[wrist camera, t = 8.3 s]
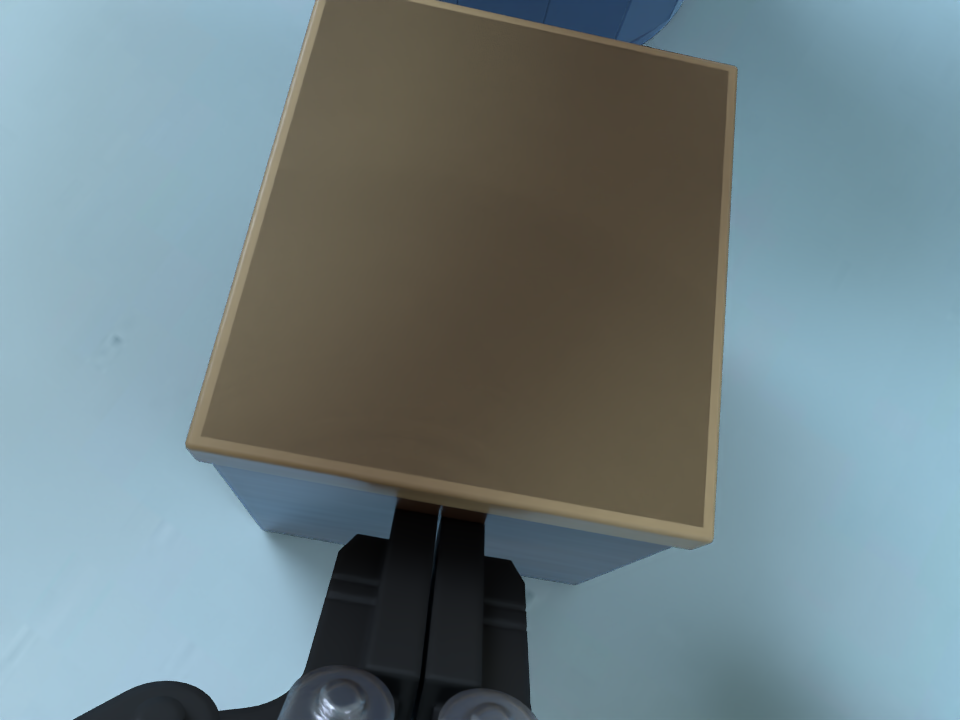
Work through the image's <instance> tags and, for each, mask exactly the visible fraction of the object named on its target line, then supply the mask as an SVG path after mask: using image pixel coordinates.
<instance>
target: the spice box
mask: <svg viewBox="0 0 960 720" xmlns="http://www.w3.org/2000/svg"><path fill="white" fill-rule="evenodd" d="M737 71H738V69H737V67H735V66H733V65H728V64H724V63H719V62H715V61H710V60H706V59H701V58H697V57H692V56H688V55H683V54H678V53H674V52H669V51H665V50H660V49H656V48H651V47H647V46H642V45H638V44H633V43H628V42H624V41H619V40H615V39H610V38H606V37H601V36H597V35H592V34H587V33H583V32H578V31H574V30H569V29H565V28H560V27H556V26H551V25H547V24H542V23H537V22H533V21H528V20H524V19H519V18H515V17H510V16H506V15H501V14H497V13H492V12H487V11H483V10H478V9H474V8H469V7H465V6H460V5H456V4H451V3H447V2H442V1H437V0H315V3H314V7H313V10H312V13H311V17H310V20H309V24H308V27H307V30H306V34H305V37H304V41H303V44H302V47H301V51H300V54H299V58H298V61H297V64H296V68H295V71H294V75H293V78H292V81H291V85H290V88H289V92H288V95H287V98H286V102H285V105H284V109H283V112H282V115H281V119H280V122H279V126H278V129H277V132H276V136H275V139H274V143H273V146H272V149H271V153H270V156H269V160H268V163H267V166H266V170H265V173H264V177H263V180H262V183H261V187H260V190H259V194H258V197H257V200H256V204H255V207H254V211H253V214H252V217H251V221H250V224H249V228H248V231H247V234H246V238H245V241H244V245H243V248H242V251H241V255H240V258H239V262H238V265H237V268H236V272H235V275H234V279H233V282H232V285H231V289H230V292H229V296H228V299H227V302H226V306H225V309H224V313H223V316H222V319H221V323H220V326H219V330H218V333H217V336H216V340H215V343H214V347H213V350H212V353H211V357H210V360H209V364H208V367H207V370H206V374H205V377H204V381H203V384H202V387H201V391H200V394H199V398H198V401H197V404H196V408H195V411H194V415H193V418H192V421H191V425H190V428H189V432H188V435H187V438H186V442H185V445H186V448H187V450H188V451H189V452H190V453H191V455H192V456H193V457H194V458H195V459H196V460H197V461H199V462H205V463H210V464H213V465H214V467H215V468H216V469H217V471H218V472H219V473H220V475H221V476H222V477H223V479H224V480H225V481H226V483H227V484H228V485H229V487H230V488H231V489H232V491H233V492H234V493H235V495H236V496H237V497H238V499H239V500H240V501H241V503H242V504H243V505H244V507H245V508H246V509H247V511H248V512H249V513H250V515H251V516H252V517H253V519H254V520H255V521H256V523H257V524H258V525H259V527H260V528H261V529H262V530H264V531H270V532H275V533H281V534H287V535H292V536H298V537H304V538H309V539H315V540H321V541H327V542H332V543H338V544H344V545H346V544H347V543H348V542H349V541H350V540H351V539H352V538H353V537H354V536H355V535H356V534H362V535H368V536H374V537H379V538H385V539H389V537H390V532H391V527H392V522H393V517H394V512H395V509H400V510H405V511H411V512H417V513H422V514H428V515H434V516H438V523H437V531H436V537H437V532H438V528H439V523H440V520H441V518H442V517H445V518H451V519H457V520H462V521H468V522H474V523H479V524H484V525H485V545H484V556H490V557H495V558H501V559H507V560H511V561H512V562H513V564H514V566H515V568H516V569H517V571H518V573H519V574H520V576H526V577H532V578H537V579H543V580H549V581H554V582H560V583H566V584H572V585H577V584H580V583H583V582H585V581H588V580H590V579H593V578H595V577H598V576H600V575H603V574H605V573H608V572H610V571H613V570H615V569H618V568H621V567H623V566H626V565H628V564H631V563H633V562H636V561H638V560H641V559H643V558H646V557H648V556H651V555H653V554H656V553H658V552H661V551H664V550H666V549H669V548H671V547H677V548H683V549H688V550H692V549H696V548H699V547H701V546H704V545H707V544H710V543H712V541H713V539H714V522H715V502H716V482H717V463H718V443H719V424H720V404H721V385H722V365H723V345H724V326H725V306H726V287H727V267H728V248H729V228H730V209H731V189H732V169H733V150H734V130H735V111H736V91H737ZM435 542H436V540H435Z"/></svg>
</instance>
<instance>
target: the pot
mask: <svg viewBox="0 0 960 720" xmlns="http://www.w3.org/2000/svg"><path fill="white" fill-rule="evenodd" d="M437 1H442V2H447V3H451V4H456V5H460V6H465V7H469V8H474V9H478V10H483V11H487V12H492V13H497V14H501V15H506V16H510V17H515V18H519V19H524V20H528V21H533V22H537V23H542V24H547V25H551V26H556V27H560V28H565V29H569V30H574V31H578V32H583V33H587V34H592V35H597V36H601V37H606V38H610V39H615V40H619V41H624V42H628V43H633V44H638V45H642V44H643V43H645V42H646V41H648V40H649V39H651V38H652V37H653V36H654V35H656V34H657V33H658V32H659V31H660V30H661V29H662V28H663V27H664V26H666V25H667V24H668V22H669V21H670V20H671V19H672V17H673V16H674V15H675V14H676V12H677V11H678V10H679V8H680V6H681V5H682V3H683V1H684V0H437Z"/></svg>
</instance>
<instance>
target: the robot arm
mask: <svg viewBox="0 0 960 720" xmlns="http://www.w3.org/2000/svg"><path fill="white" fill-rule="evenodd" d="M437 523H438V516H434V515H428V514H422V513H417V512H411V511H405V510H400V509H395V512H394V517H393V522H392V527H391V532H390V537H389V539H385V538H379V537H374V536H368V535H362V534H356V535H355V536H354V537H353V538H352V539H351V540H350V541H349V542H348V543H347V544H346V545H345V546H344V547H343V548H342V549H341V550H340V551H339V552H338V556H337V559H336V563H335V566H334V570H333V573H332V578H331V580H330V584H329V587H328V591H327V595H326V598H325V601H324V605H323V608H322V612H321V615H320V619H319V622H318V626H317V629H316V633H315V636H314V640H313V643H312V647H311V650H310V654H309V657H308V661H307V664H306V667H305V670H304V673H303V675H302V676H301V678H299V679H298V680H297V681H296V682H295V683H294V685H293V686H292V687H291V689H290V690H289V691H288V692H287V693H285V694H284V695H282V696H280V697H279V698H277V699H275V700H273V701H270V702H268V703H265V704H262V705H259V706H254V707H248V708H240V709H232V710H223V711H218V709H217V707H216V705H215V703H214V702H213V700H212V699H211V698H210V697H209V696H208V695H207V694H206V693H205V692H203V691H202V690H200V689H198V688H197V687H195V686H192V685H189V684H187V683H182V682H177V681H157V682H151V683H146V684H143V685H140V686H136V687H134V688H132V689H130V690H128V691H126V692H124V693H122V694H120V695H118V696H116V697H114V698H112V699H111V700H109V701H107V702H105V703H103V704H101V705H99V706H97V707H96V708H94V709H92V710H90V711H88V712H86V713H84V714H83V715H81V716H79V717H77V718H75V719H73V720H537V718H536V717H535V715H534V714H533V713H532V711H531V704H530V684H529V663H528V642H527V631H526V628H527V621H526V612H525V608H526V600H525V583H524V581H523V579H522V578H521V576H520V574H519V573H518V571H517V569H516V568H515V566H514V564H513V562H512V561H511V560H507V559H501V558H495V557H490V556H484V545H485V525H484V524H479V523H474V522H468V521H462V520H457V519H451V518H445V517H442V518H441V520H440V523H439V528H438V532H437V537H436V531H437ZM435 540H436V542H435Z"/></svg>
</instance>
